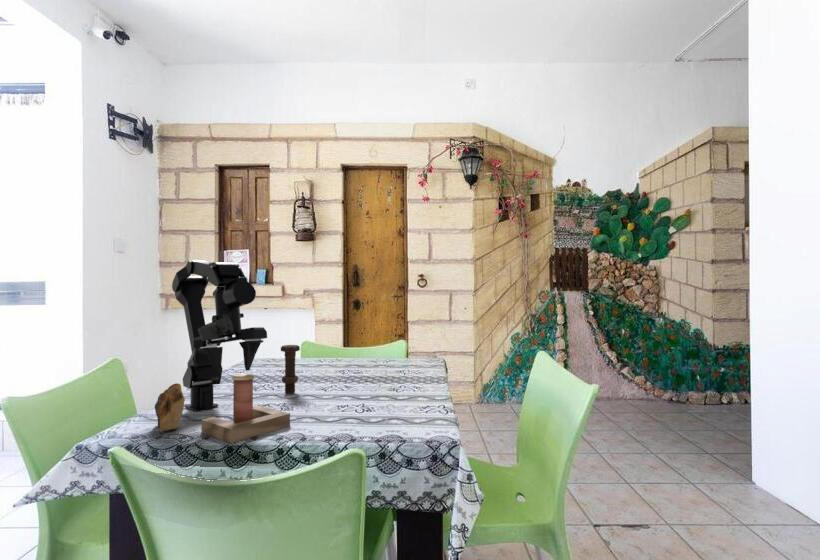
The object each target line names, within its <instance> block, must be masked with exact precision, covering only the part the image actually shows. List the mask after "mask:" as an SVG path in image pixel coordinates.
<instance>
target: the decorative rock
mask: <svg viewBox="0 0 820 560" xmlns="http://www.w3.org/2000/svg"><path fill="white" fill-rule="evenodd" d="M185 399H186V398H185V396H184V393H183V391H182V385H181V383H173V384H171V385H170V386H169V387H168V388H167V389H164V391H163V392H161V393H160V394H159V395H158V398H157V400H156V403H155V404H154V410H155V415H156V418H157V427H158V429H159V430H160V432H165V431H172V430H174V429H177V428H179V427H180V426H181V418H182V414H183V411H184V409H185Z"/></svg>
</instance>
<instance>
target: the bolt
mask: <svg viewBox="0 0 820 560" xmlns="http://www.w3.org/2000/svg"><path fill="white" fill-rule="evenodd" d="M300 348H301V347H300V345H297V344H284V345H281V347H280V352H283V353H284V375H283V376H282V377H281V382H282V383H283V384H284V394H286V395H291V394H295V392H296V383H297V382H298V381H299V376H298V375H296V356H297V355H296V352H299V351H300Z"/></svg>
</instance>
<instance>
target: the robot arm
mask: <svg viewBox="0 0 820 560" xmlns="http://www.w3.org/2000/svg"><path fill="white" fill-rule="evenodd" d="M209 283H210V284H211V285H214V286H215V287H216V288H215V290H213V292H212V296H214V302H215V303H214V306H215V315H212V317H211V322H208V323H206V321H205V316H204V310H203V304H202V300H203V298H204V297H205V296H204V295H205V294H206V288H207V286H208V285H209ZM171 284H172V285H171V290H172V291H173V292H174V295H175V299H176V301H177V302H178V303H180V304H181V305H182V306H183V311H184V316H185V320H186V321H185V322H186V326H187V332H188V339H189V343H190V344H189V345H190V350H191V354H190V357H189V359H188V361H187V368H186V370H185V372H184V375H183V377H182V384H183V385H182V387H184V388H187V389H189V390H190V397H189V403H190V404H186V405H184V409H189V410H192V411H195V412H199V411H204V410H208V409H212V408H216V407H219V404H217V403H214V385H221V380H222V375H223V366H222V360H223V346H221V345H222V344H223V343H229V342H230V343H231V342H234V341H235V342H236V341H239V342H238V343H239V345H240V347H241V348H242V353H243V362H244V369H245V371H246V372H247V371H250V370H251V367H252V365H253V362H254V359H255V357H256V354H257V352H258V349H259V348H260V345H261V343H264V339H268V333H267V332H268V331H267V330H266V328H265V327H263V326H262V327H260V326H259V327H257V326H256V327H248V328H242V324H241V322H242V321H241V318H245V316H244V313H241V309H240V307H243V306H246V305H249V304H252V302H254V301H255V299H256V294H257V293H256V289H255V287H254V286H253V284H252V283H250V282H249V279H248V278H247V276H245V274H244V272H243V270H242V268H241V267H240V264H239V263H237V262H224V261H223V262H220V261H219V262H217V261H216V262H215V261H213V262H211V261H210V262H209V261H206V260H200V259H199V260H198V259H191V260H188V261H187V262H186V265H185V266H184V267H182V268H181V269H179V270H178V271H177V272H176V273H175V275H174V277H173V279H172V283H171Z"/></svg>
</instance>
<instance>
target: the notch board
mask: <svg viewBox="0 0 820 560" xmlns="http://www.w3.org/2000/svg"><path fill="white" fill-rule="evenodd" d="M290 426H291V413H289V412H286V411H282V410H278V409H274V408H271V407H266V406H263V405H258V406H253V419H252V420H248V421H244V422H241V423H237V424H235V423H232V422H231V421H228V420H226V419H222V418H218V417H216V416H212V417H207V418H203V419H201V433H202V432H203V433H202V434H204V433H206V434H205V435H207V434H208V435H207V436H209V435H210V436H209V437H212V436H213V437H212V438H215V437H216V438H215V439H218V438H219V439H218V440H220V441H223V442H226V443H229V444H233V443H237V442H241V441H244V440H248V439H250V437H251V438H254V437H258V436H261V435H263V434H267V433H270V432H273V431H277V430H281V429H284V428H287V427H290ZM257 435H258V436H257ZM253 436H254V437H253Z"/></svg>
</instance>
